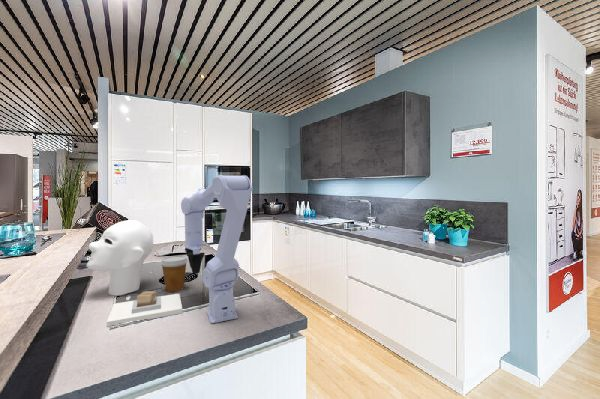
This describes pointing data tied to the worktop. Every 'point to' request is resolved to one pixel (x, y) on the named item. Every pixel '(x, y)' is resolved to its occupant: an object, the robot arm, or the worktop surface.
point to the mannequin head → (122, 255)
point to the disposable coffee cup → (174, 272)
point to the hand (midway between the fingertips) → (194, 270)
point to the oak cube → (146, 299)
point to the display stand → (145, 310)
